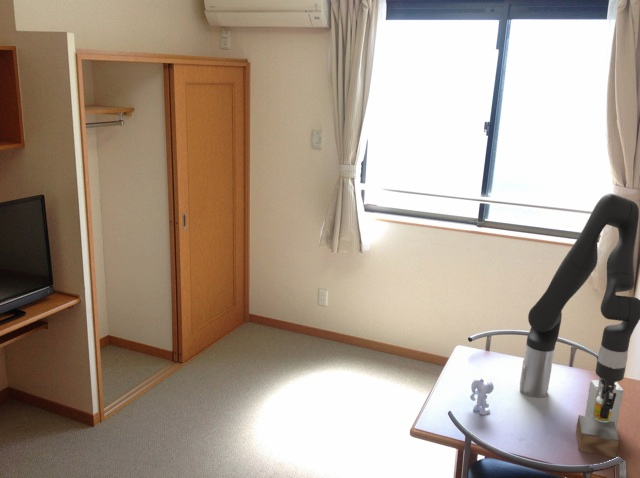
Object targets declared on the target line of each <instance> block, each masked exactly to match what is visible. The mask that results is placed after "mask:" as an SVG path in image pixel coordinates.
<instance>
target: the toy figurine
mask: <svg viewBox="0 0 640 478" xmlns="http://www.w3.org/2000/svg"><path fill="white" fill-rule="evenodd" d="M470 385H471V392H472V394H471V395H470V400H471V401H472V402H475V401H476V400H477V401H476V404H475V405H474V406H473V409H472V410H473V412H478V413H479V415H481V416H484V415H485V416H486V415H490V413H491V411H490V408H489V407H490V404H489V403H487V398H488V395H489V394H492V392H493V391H494V384H493V382H492V380H487V379H483V378H475V379H474V380H473V381H472V383H471V384H470ZM475 395H477V399H476V397H475Z"/></svg>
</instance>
